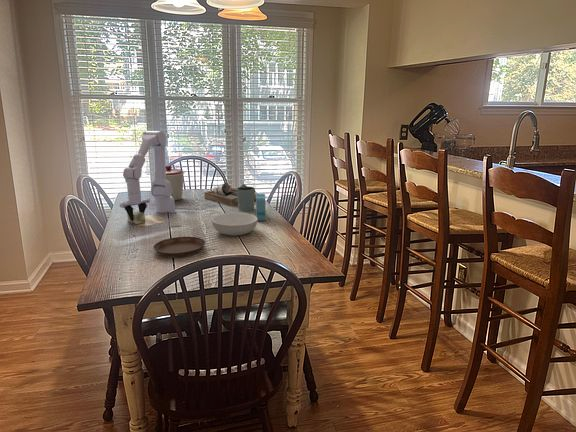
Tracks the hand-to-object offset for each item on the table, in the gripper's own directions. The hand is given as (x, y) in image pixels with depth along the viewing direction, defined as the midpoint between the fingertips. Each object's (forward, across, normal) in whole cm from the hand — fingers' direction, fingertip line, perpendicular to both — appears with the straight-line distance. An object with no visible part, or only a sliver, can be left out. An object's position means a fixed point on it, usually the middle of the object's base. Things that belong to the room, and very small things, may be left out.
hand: (136, 219), depth 212 cm
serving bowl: (+3, -26, +43) cm, 51 cm away
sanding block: (+2, 0, -1) cm, 2 cm away
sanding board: (+3, -5, 0) cm, 6 cm away
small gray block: (+2, +4, 0) cm, 4 cm away
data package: (+3, -50, +34) cm, 61 cm away
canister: (+3, -40, -37) cm, 55 cm away
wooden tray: (+3, -65, -11) cm, 66 cm away
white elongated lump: (+3, -67, -10) cm, 68 cm away
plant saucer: (+4, +5, +46) cm, 46 cm away
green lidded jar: (+3, -57, +14) cm, 59 cm away
